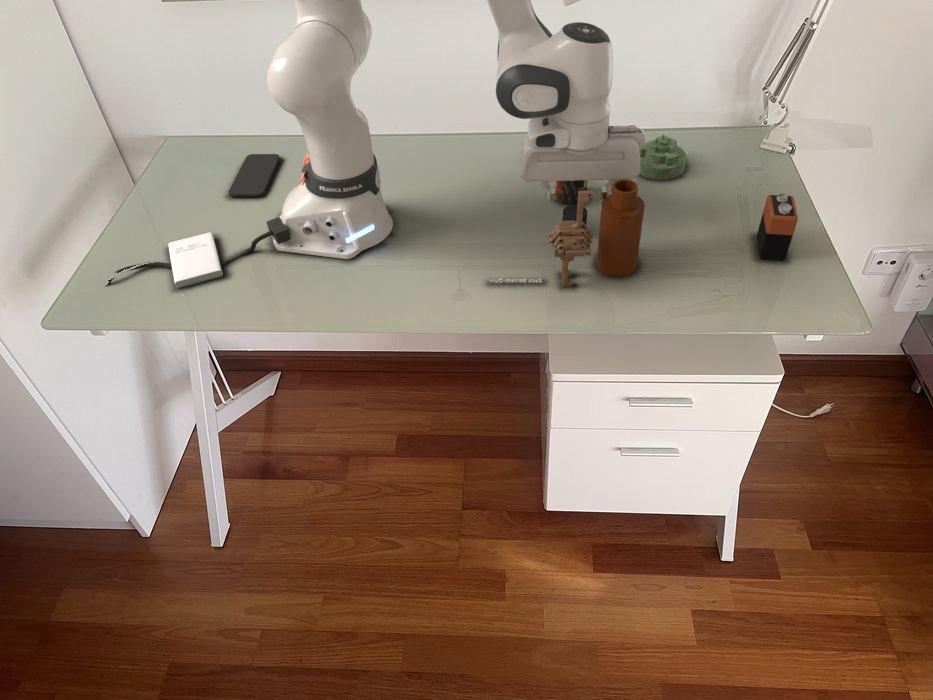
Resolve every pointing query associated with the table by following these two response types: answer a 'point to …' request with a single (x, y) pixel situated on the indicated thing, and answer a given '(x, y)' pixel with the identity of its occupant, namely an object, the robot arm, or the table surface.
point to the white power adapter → (194, 260)
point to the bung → (573, 213)
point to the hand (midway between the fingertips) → (578, 198)
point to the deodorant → (570, 191)
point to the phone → (254, 175)
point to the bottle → (620, 229)
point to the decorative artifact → (662, 159)
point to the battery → (776, 227)
